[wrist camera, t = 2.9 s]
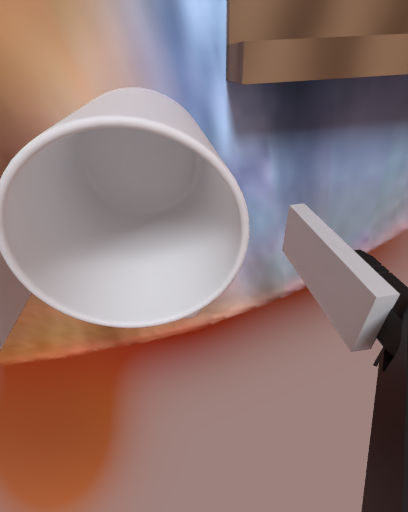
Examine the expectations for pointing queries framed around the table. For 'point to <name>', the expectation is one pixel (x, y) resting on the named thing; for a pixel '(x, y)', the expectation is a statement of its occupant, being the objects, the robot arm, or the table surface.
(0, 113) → the table surface
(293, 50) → the tray
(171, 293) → the mug
